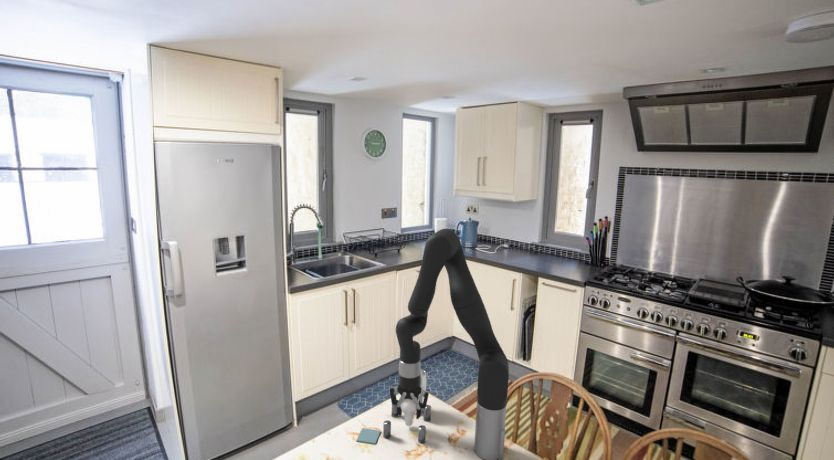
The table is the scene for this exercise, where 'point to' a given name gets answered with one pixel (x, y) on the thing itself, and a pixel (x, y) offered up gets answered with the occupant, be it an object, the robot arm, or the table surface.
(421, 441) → the spacers
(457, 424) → the table surface
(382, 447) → the table surface
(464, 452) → the table surface
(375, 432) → the mat
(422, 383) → the beer glass
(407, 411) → the lightbulb
